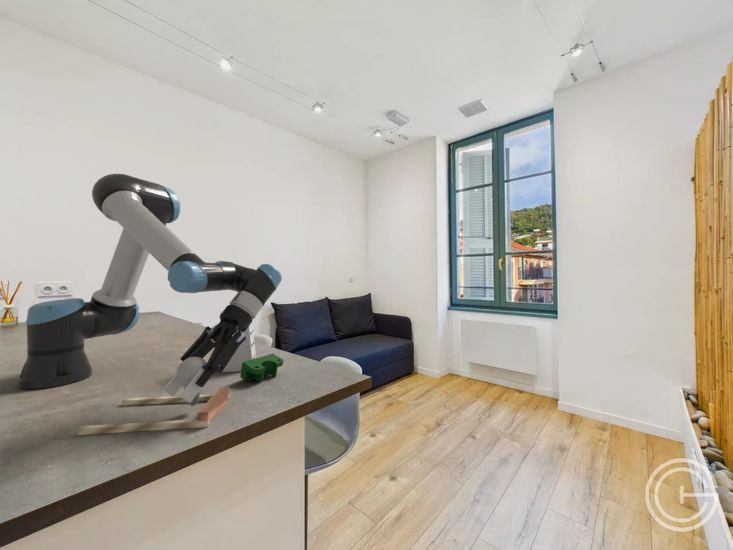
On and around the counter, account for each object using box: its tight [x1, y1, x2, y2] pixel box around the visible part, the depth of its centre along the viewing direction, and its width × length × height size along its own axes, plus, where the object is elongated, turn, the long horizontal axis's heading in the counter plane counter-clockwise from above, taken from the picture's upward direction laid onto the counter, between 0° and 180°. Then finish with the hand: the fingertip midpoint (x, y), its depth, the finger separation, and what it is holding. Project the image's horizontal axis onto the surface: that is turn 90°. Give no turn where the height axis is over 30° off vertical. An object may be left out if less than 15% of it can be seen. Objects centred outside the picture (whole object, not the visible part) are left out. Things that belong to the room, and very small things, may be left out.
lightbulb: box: [176, 357, 207, 407], centre depth 69 cm, size 6×6×11 cm
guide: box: [77, 386, 230, 436], centre depth 68 cm, size 24×14×3 cm, turn 98°
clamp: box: [239, 353, 284, 383], centre depth 92 cm, size 12×6×9 cm, turn 142°
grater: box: [219, 322, 257, 373], centre depth 102 cm, size 10×10×20 cm
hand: (176, 396), depth 66 cm, fingers closed on lightbulb, 6 cm apart
